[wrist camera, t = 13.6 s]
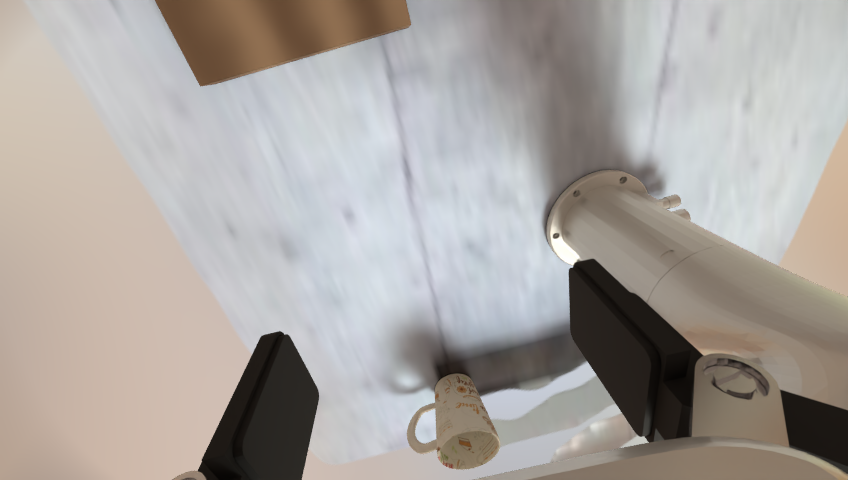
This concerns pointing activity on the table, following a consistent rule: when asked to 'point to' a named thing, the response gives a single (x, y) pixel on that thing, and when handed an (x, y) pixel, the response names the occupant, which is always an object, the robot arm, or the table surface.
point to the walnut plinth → (272, 31)
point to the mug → (458, 425)
